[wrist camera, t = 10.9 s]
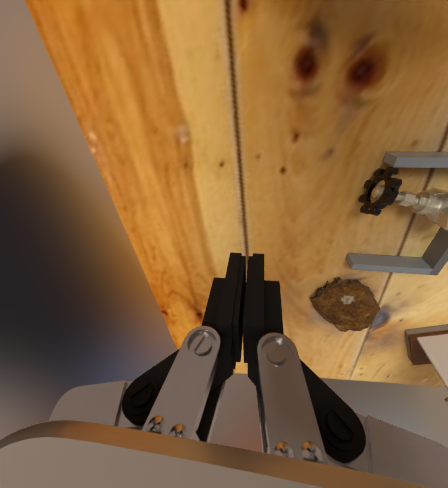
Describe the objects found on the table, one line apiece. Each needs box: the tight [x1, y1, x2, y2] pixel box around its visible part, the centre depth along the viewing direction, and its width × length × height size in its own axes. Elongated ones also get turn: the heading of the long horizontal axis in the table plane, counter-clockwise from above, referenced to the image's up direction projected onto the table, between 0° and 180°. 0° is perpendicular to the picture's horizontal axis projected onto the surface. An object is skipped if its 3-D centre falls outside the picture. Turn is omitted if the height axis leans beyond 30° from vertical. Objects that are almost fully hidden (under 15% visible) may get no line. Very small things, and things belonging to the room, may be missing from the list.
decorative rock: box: [310, 277, 380, 332], centre depth 45 cm, size 11×4×15 cm
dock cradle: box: [346, 152, 448, 275], centre depth 32 cm, size 18×13×3 cm
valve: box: [358, 167, 448, 230], centre depth 29 cm, size 7×7×12 cm
